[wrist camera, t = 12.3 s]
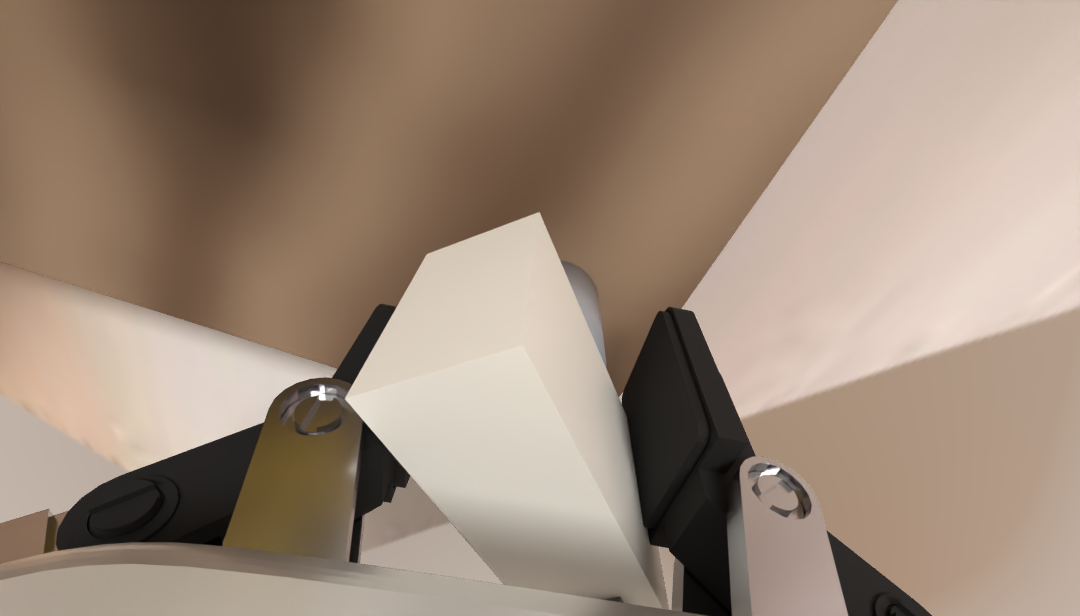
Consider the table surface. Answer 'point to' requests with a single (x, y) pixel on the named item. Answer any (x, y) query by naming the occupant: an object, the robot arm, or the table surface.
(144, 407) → the table surface
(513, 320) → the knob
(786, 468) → the robot arm
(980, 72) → the table surface
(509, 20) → the level base
